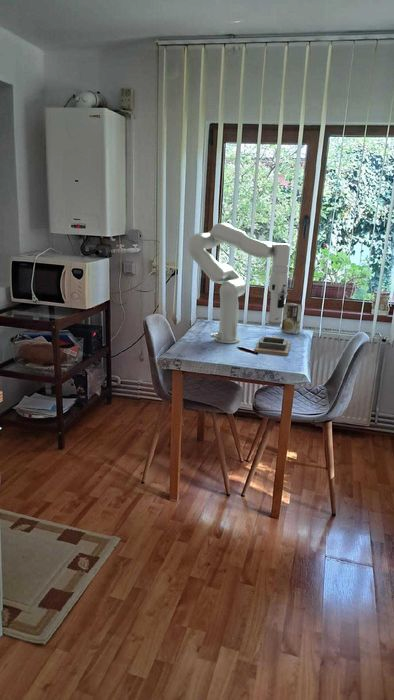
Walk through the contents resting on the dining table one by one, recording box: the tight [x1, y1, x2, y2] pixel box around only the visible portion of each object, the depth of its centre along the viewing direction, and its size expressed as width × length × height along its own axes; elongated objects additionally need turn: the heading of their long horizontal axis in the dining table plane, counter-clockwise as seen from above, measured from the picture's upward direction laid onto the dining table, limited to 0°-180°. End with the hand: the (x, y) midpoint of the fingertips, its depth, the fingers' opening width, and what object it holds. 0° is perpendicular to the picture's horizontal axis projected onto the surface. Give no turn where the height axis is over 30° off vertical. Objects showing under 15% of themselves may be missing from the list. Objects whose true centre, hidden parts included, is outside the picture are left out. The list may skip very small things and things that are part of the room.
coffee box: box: [281, 302, 303, 335], centre depth 278 cm, size 9×6×16 cm
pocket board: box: [253, 335, 291, 357], centre depth 244 cm, size 22×16×4 cm
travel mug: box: [268, 285, 283, 326], centre depth 238 cm, size 6×7×20 cm
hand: (276, 306), depth 239 cm, fingers closed on travel mug, 6 cm apart
